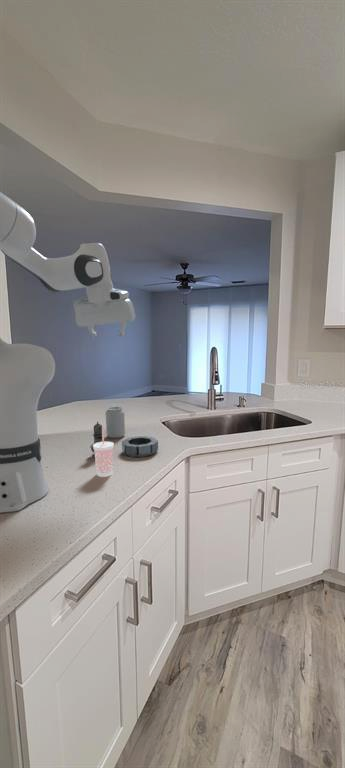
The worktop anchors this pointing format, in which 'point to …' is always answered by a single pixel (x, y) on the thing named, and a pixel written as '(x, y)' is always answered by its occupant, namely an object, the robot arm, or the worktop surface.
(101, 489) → the worktop surface
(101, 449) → the beverage cup
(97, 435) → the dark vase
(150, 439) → the metal ring collar
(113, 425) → the can
